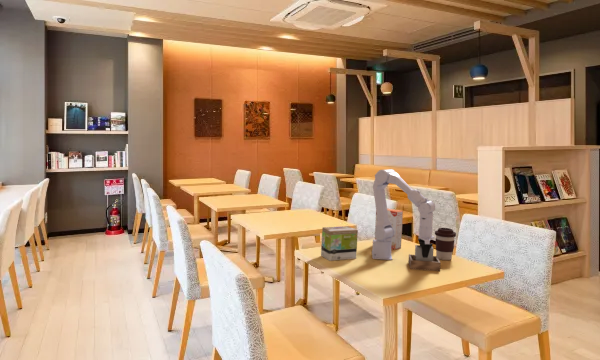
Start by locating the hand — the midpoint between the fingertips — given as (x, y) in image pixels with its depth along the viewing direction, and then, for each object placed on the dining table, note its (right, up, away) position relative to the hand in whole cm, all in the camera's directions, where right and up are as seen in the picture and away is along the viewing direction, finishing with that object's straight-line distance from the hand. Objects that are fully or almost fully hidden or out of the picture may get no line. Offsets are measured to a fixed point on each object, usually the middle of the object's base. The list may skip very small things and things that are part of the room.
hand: (424, 255), depth 193 cm
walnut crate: (0, -5, +1) cm, 5 cm away
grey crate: (0, -2, 0) cm, 2 cm away
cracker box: (-9, -2, +36) cm, 38 cm away
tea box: (-39, -3, +13) cm, 41 cm away
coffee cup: (+14, -4, +15) cm, 22 cm away
